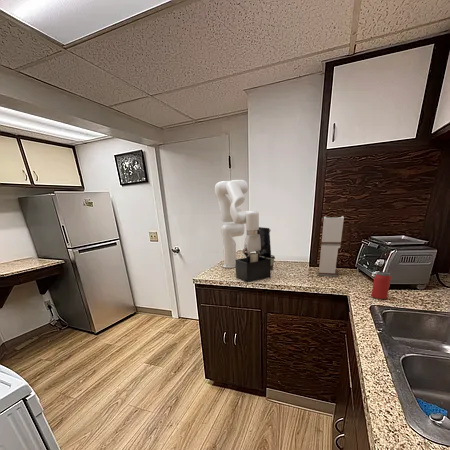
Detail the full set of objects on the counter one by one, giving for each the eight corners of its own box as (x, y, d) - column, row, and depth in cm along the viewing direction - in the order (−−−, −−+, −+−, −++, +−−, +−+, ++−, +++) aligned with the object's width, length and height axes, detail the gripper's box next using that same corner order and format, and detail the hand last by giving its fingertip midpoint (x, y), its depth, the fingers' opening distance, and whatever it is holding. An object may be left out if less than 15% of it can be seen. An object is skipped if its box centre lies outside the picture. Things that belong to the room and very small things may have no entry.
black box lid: (268, 228, 147) (274, 226, 149) (255, 226, 158) (261, 225, 160) (270, 258, 155) (276, 256, 156) (257, 255, 166) (263, 253, 168)
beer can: (386, 300, 116) (391, 276, 111) (370, 298, 119) (374, 274, 114) (386, 296, 121) (391, 272, 116) (371, 294, 124) (375, 270, 120)
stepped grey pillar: (336, 276, 153) (343, 217, 140) (318, 275, 157) (323, 218, 144) (336, 271, 163) (343, 216, 150) (319, 270, 167) (324, 216, 154)
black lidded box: (247, 282, 152) (246, 263, 148) (236, 277, 163) (235, 259, 159) (270, 277, 159) (270, 259, 155) (258, 272, 171) (258, 255, 166)
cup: (246, 266, 160) (246, 253, 157) (254, 264, 162) (254, 252, 159) (251, 267, 155) (251, 255, 152) (259, 266, 157) (259, 253, 154)
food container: (274, 267, 180) (274, 254, 177) (274, 270, 175) (275, 256, 171) (257, 268, 182) (257, 254, 178) (257, 270, 176) (257, 256, 172)
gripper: (260, 231, 158) (260, 258, 164) (237, 233, 150) (238, 262, 157) (267, 231, 151) (267, 260, 158) (243, 234, 144) (244, 264, 151)
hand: (253, 261), depth 157 cm, fingers closed on cup, 6 cm apart
